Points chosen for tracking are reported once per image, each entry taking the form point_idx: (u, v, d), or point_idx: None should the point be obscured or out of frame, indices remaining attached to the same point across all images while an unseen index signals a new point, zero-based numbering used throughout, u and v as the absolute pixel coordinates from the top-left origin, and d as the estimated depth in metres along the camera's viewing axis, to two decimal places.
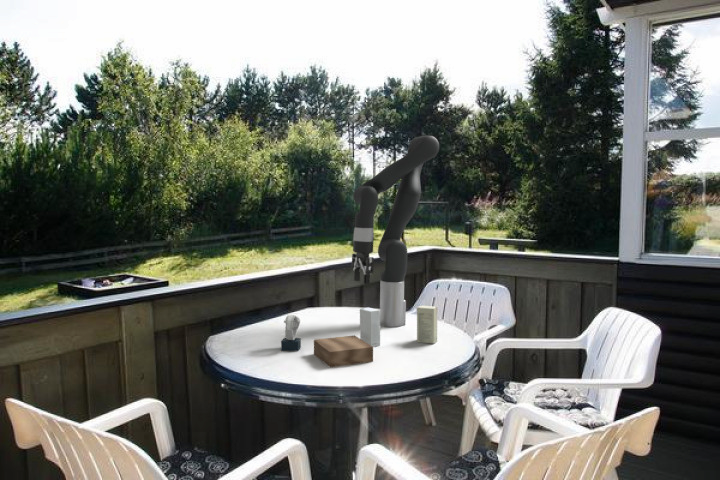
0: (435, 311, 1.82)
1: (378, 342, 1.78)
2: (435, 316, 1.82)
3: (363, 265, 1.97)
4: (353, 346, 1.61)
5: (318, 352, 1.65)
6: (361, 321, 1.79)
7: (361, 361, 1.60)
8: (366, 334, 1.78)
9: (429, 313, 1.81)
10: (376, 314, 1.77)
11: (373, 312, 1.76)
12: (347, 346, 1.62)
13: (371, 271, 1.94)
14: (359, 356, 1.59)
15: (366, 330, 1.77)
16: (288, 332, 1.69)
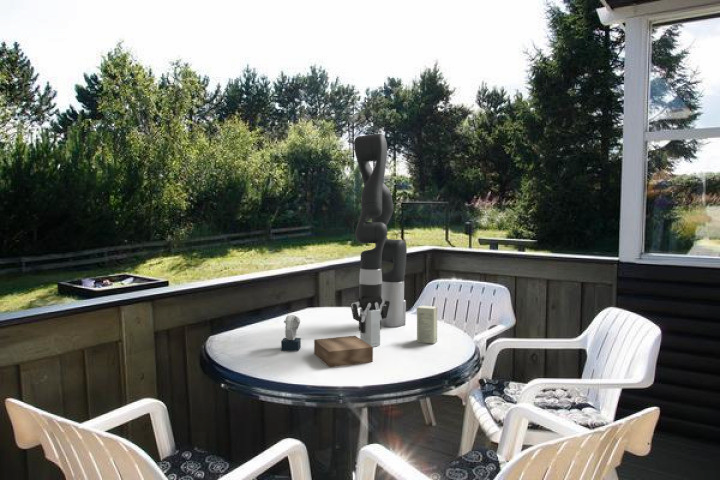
0: (435, 311, 1.82)
1: (378, 342, 1.78)
2: (435, 316, 1.82)
3: None
4: (353, 346, 1.61)
5: (318, 352, 1.65)
6: None
7: (361, 361, 1.60)
8: (366, 333, 1.78)
9: (429, 313, 1.81)
10: (376, 314, 1.77)
11: (373, 312, 1.76)
12: (347, 346, 1.62)
13: None
14: (359, 356, 1.59)
15: (366, 330, 1.77)
16: (288, 332, 1.69)
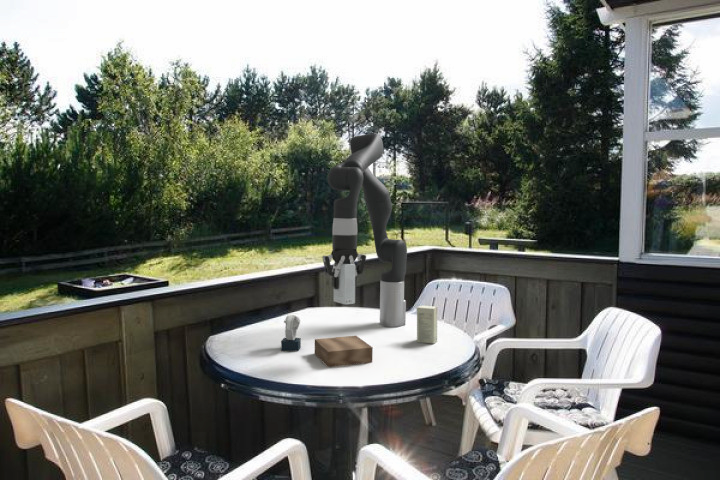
0: (435, 311, 1.82)
1: (352, 300, 1.62)
2: (435, 316, 1.82)
3: None
4: (353, 346, 1.61)
5: (318, 351, 1.65)
6: None
7: (360, 361, 1.60)
8: (339, 290, 1.62)
9: (429, 313, 1.81)
10: (351, 268, 1.61)
11: (347, 266, 1.60)
12: (347, 346, 1.61)
13: None
14: (358, 356, 1.59)
15: (340, 286, 1.61)
16: (288, 332, 1.69)
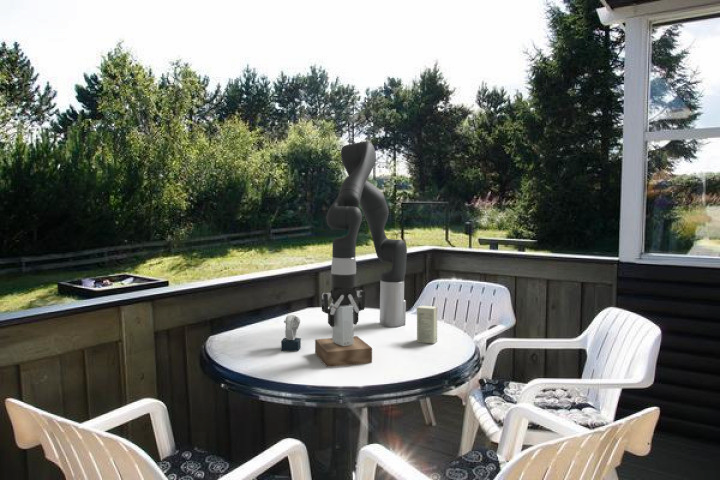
0: (435, 311, 1.82)
1: (351, 341, 1.63)
2: (435, 316, 1.82)
3: (354, 302, 1.64)
4: (352, 347, 1.61)
5: (318, 352, 1.65)
6: None
7: (359, 362, 1.59)
8: (338, 332, 1.62)
9: (429, 313, 1.81)
10: (348, 310, 1.61)
11: (345, 308, 1.61)
12: (346, 346, 1.61)
13: None
14: (358, 357, 1.59)
15: (338, 328, 1.62)
16: (288, 332, 1.69)
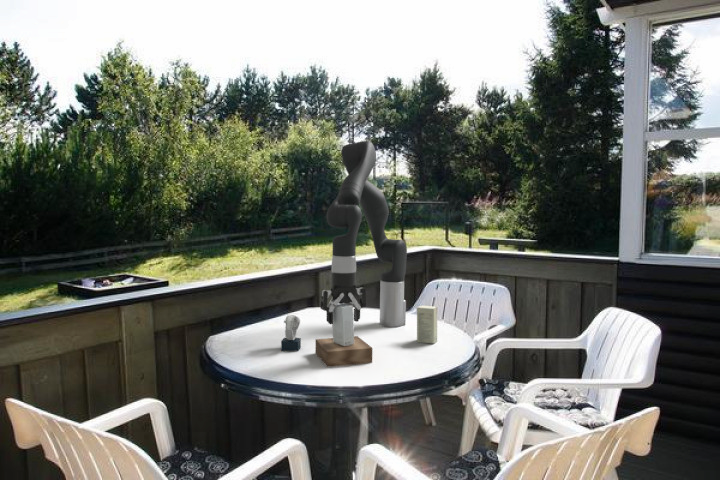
0: (435, 311, 1.82)
1: (352, 341, 1.63)
2: (435, 316, 1.82)
3: None
4: (353, 347, 1.61)
5: (318, 351, 1.65)
6: (333, 318, 1.64)
7: (360, 362, 1.59)
8: (338, 332, 1.62)
9: (429, 313, 1.81)
10: (348, 310, 1.61)
11: (345, 308, 1.60)
12: (347, 346, 1.62)
13: None
14: (358, 357, 1.59)
15: (338, 328, 1.62)
16: (288, 332, 1.69)
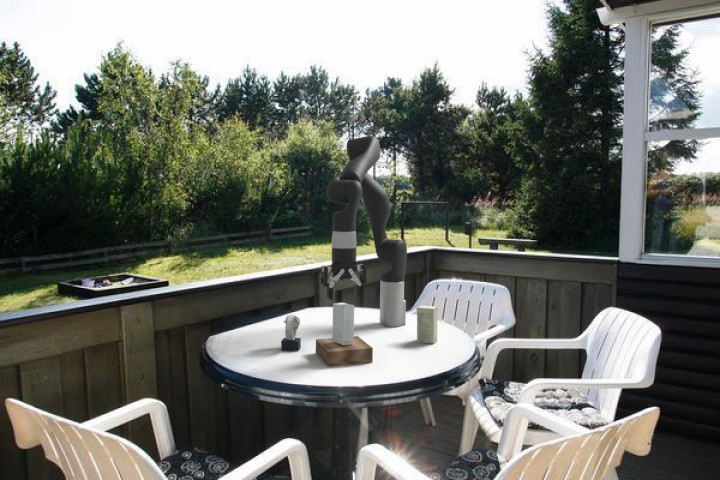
0: (435, 311, 1.82)
1: (351, 340, 1.63)
2: (435, 316, 1.82)
3: (355, 275, 1.63)
4: (353, 347, 1.61)
5: (318, 351, 1.66)
6: (334, 317, 1.65)
7: (360, 362, 1.59)
8: (338, 330, 1.63)
9: (429, 313, 1.81)
10: (350, 309, 1.62)
11: (346, 307, 1.61)
12: (347, 346, 1.62)
13: None
14: (358, 357, 1.59)
15: (339, 327, 1.62)
16: (288, 332, 1.69)
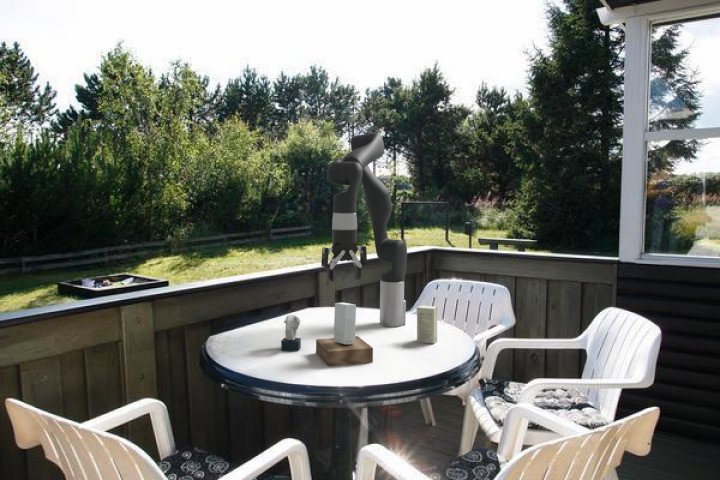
0: (435, 311, 1.82)
1: (353, 340, 1.63)
2: (435, 316, 1.82)
3: None
4: (353, 346, 1.61)
5: (319, 351, 1.66)
6: (335, 316, 1.65)
7: (360, 362, 1.60)
8: (340, 330, 1.63)
9: (429, 313, 1.81)
10: (351, 308, 1.63)
11: (348, 306, 1.62)
12: (347, 346, 1.62)
13: None
14: (358, 357, 1.59)
15: (340, 326, 1.63)
16: (288, 332, 1.69)
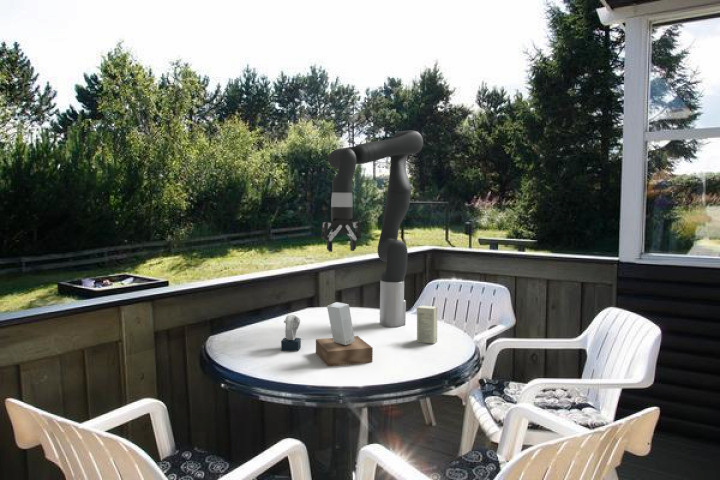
0: (435, 311, 1.82)
1: (352, 338, 1.63)
2: (435, 316, 1.82)
3: (351, 231, 1.90)
4: (353, 346, 1.61)
5: (318, 351, 1.66)
6: (330, 319, 1.64)
7: (360, 362, 1.60)
8: (338, 331, 1.63)
9: (429, 313, 1.81)
10: (345, 309, 1.61)
11: (342, 308, 1.60)
12: (347, 346, 1.62)
13: None
14: (358, 356, 1.59)
15: (338, 328, 1.62)
16: (288, 332, 1.69)
